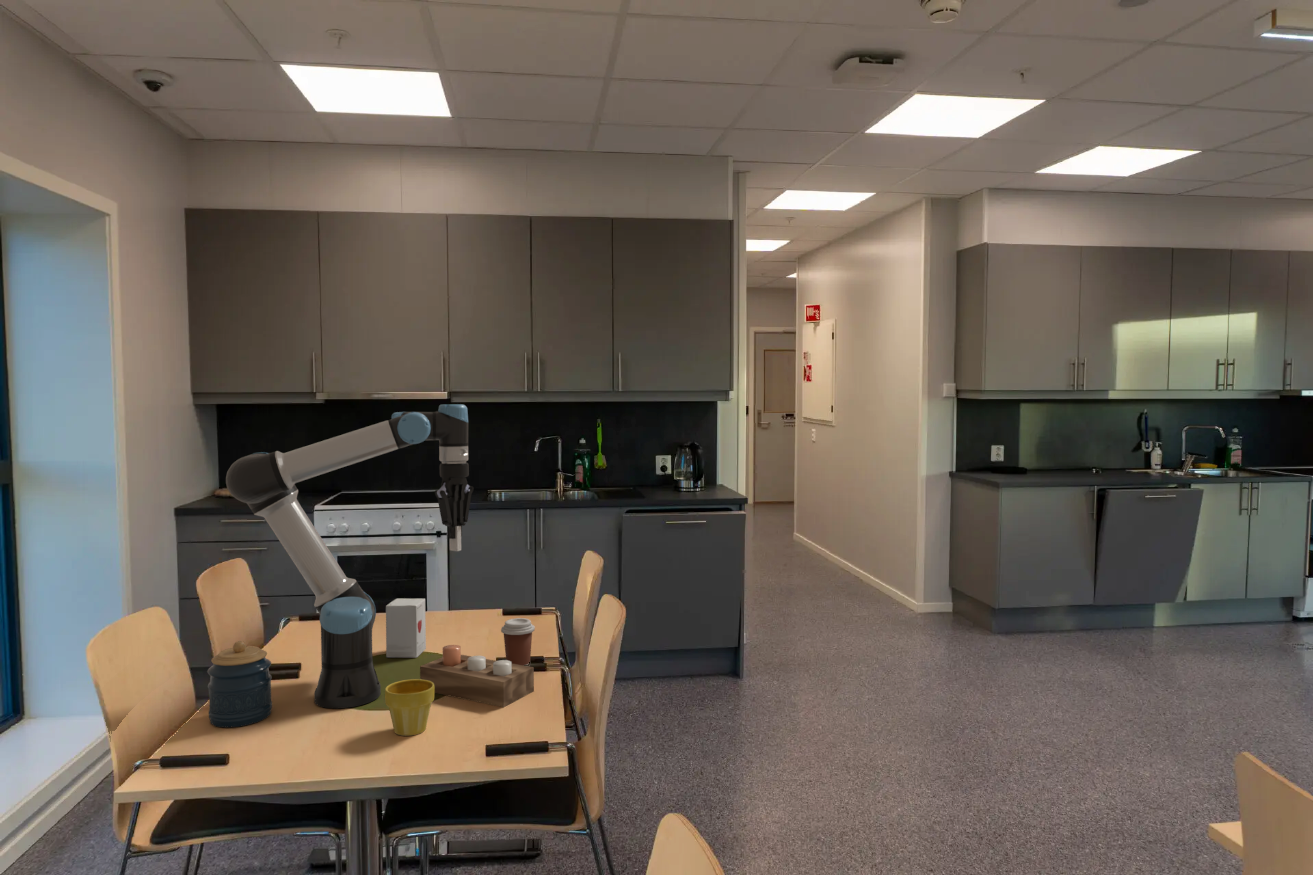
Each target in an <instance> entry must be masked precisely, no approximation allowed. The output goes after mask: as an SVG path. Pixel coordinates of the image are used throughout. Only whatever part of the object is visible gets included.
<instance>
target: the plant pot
mask: <svg viewBox="0 0 1313 875" xmlns="http://www.w3.org/2000/svg"><path fill="white" fill-rule="evenodd" d="M434 691H435V687H434V683H433V682H431V681H428V680H423V679H420V678H415V679H414V678H411V679H404V680H399V681H395V682H392V683H390V684H387V686H386V687H385V688H384V702H385V705H386V707H388V710H389V714H390V718H391V723H392V727H393V731H394V733H395V734H396V735H398V736H403V737H410V736H411V737H412V736H416V735H419V734H421V733H423V732H425V730H426V729H427V725H428V721H429V720H428V719H429V714H430V710H431V705H432V704H433V702H434V700H435V693H434Z"/></svg>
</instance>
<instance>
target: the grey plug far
mask: <svg viewBox="0 0 1313 875" xmlns="http://www.w3.org/2000/svg"><path fill="white" fill-rule="evenodd" d="M495 661H496V662H494V663H493V674H494V675H499V676H506V675H508V674H511V673H512V665H511V661H508V660H506V659H502V660H495Z"/></svg>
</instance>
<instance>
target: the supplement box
mask: <svg viewBox="0 0 1313 875" xmlns="http://www.w3.org/2000/svg"><path fill="white" fill-rule="evenodd" d="M426 626H427V625H426V598H395V599H393V600H392V601H391V602H389V603H388V604H387V605H385V641H386V642H385V645H386V646H385V651H386V653H385V654H386V656H385V657H386V658H401V659H402V658H410V659H411V658H414V659H415V658H416V659H417V658H418V657H419V656H420V655H421V654H423V652H424V651H425V650H426V649H427V645H426V644H427V643H426V642H427V637H426V636H427V632H426V631H427V630H426V629H427V628H426Z"/></svg>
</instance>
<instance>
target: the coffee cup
mask: <svg viewBox="0 0 1313 875" xmlns="http://www.w3.org/2000/svg"><path fill="white" fill-rule="evenodd" d="M535 628H536V626H535V625H534V624H532V621H531V619H529V618H523V617H518V618H517V617H516V618H510V619H507V620H505V622H504V625H503V626H501V629H500V632H501V633H502V634H503V641H504V650H505V660H508V661H511V663H512V664H518V665H523V666H524V665H528V664H529V662H530V663H531V655H532V654H531V653H532V639H533V632H535Z"/></svg>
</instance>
